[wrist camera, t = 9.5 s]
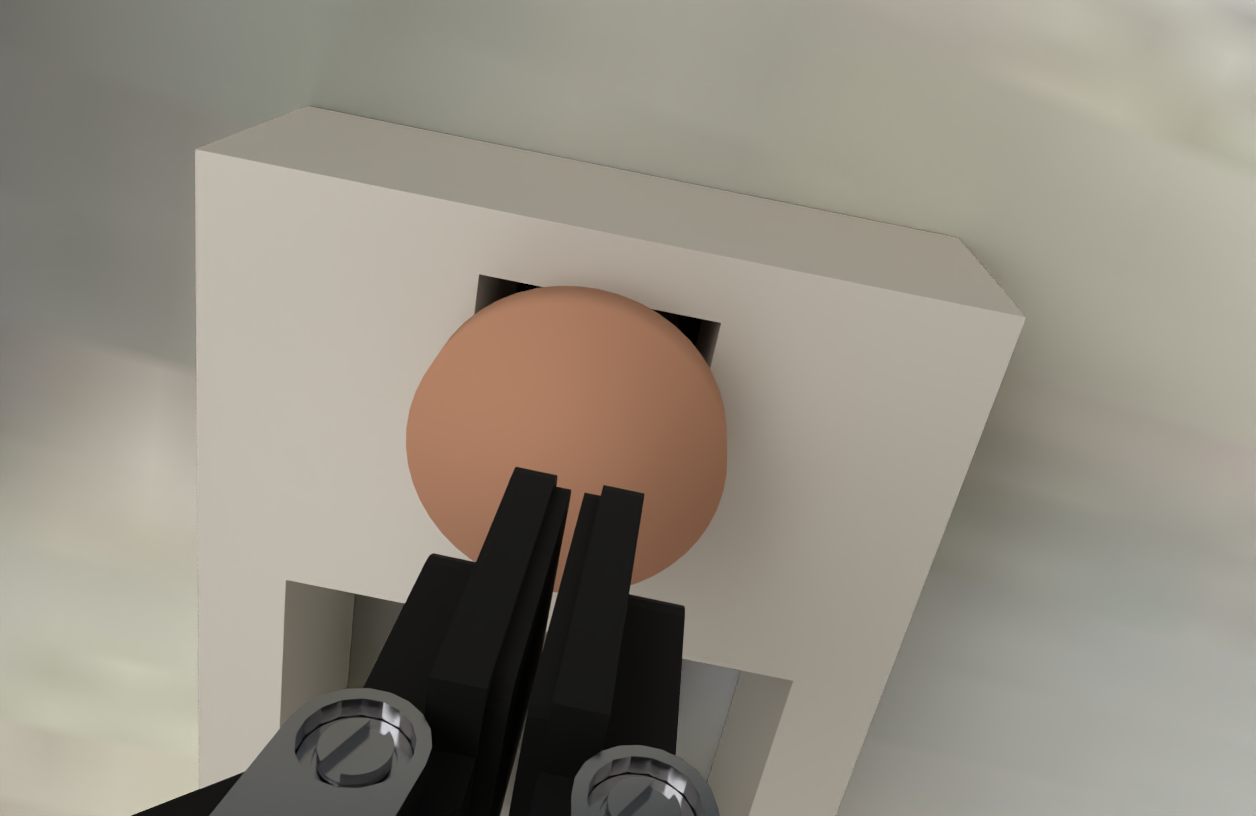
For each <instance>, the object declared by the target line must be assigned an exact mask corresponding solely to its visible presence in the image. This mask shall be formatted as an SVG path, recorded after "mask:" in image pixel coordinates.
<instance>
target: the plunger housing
mask: <svg viewBox="0 0 1256 816" xmlns="http://www.w3.org/2000/svg"><path fill="white" fill-rule="evenodd" d="M195 202H196V374H197V545H198V717H199V789H201V788H204V787H206V786H209V785H212V784H214V783H217V782H219V781H222V780H224V779H227V778H230V777H232V776H235V775H237V774H240V773H242V772H245V771H246V770H247V768H248V767H249V766H250V765H251V763H252V762H253V761H254V760H255V759H256V757H257V756H258V755H259V754H260V752H261V751H262V750H263V749H264V747H265V746H266V745H267V744H268V743H269V741H270V740H271V739H272V738H273V736H274V735H275V734H276V733H277V731H278V730H279V729H280V728H281V727H282V725H283V724H284V723H285V722H286V720H287V719H288V718H289V717H290V716H291V715H292V714H293V713H294V712H296V711H297V710H298V709H299V708H300V707H301V706H302V705H303V704H305V703H307V702H309V701H311V700H313V699H315V698H317V697H319V696H321V695H323V694H325V693H330V692H334V691H338V690H342V689H347V687H348V674H349V662H350V649H351V636H352V624H353V611H354V598H355V594H360V595H365V596H370V597H375V598H380V599H385V600H390V601H395V602H400V603H405V602H406V600H407V598H408V596H409V594H410V592H411V590H412V588H413V586H414V584H415V582H416V580H417V578H418V576H419V574H420V572H421V570H422V568H423V566H424V564H425V562H426V560H427V558H428V557H429V555H431V554H432V553H435V554H439V555H444V556H449V557H454V558H458V559H463V560H468V561H472V560H471V559H469V558H468V557H467V556H466V555H465V554H463V553H462V552H461V551H460V550H458V549H457V548H456V547H455V546H454V545H453V544H452V543H451V542H450V541H449V540H448V539H447V538H446V537H445V536H444V535H443V534H442V533H441V531H440V530H439V529H438V527H437V526H436V525H435V524H434V522H433V521H432V520H431V518H430V517H429V515H428V513H427V512H426V510H425V508H424V506H423V505H422V503H421V501H420V499H419V497H418V494H417V492H416V489H415V487H414V485H413V482H412V478H411V474H410V470H409V467H408V460H407V452H406V427H407V421H408V415H409V410H410V407H411V404H412V401H413V398H414V395H415V392H416V390H417V388H418V386H419V384H420V382H421V380H422V378H423V376H424V374H425V373H426V371H427V370H428V368H429V367H430V365H431V364H432V362H433V361H434V359H435V358H436V357H437V355H438V354H439V352H440V351H441V349H442V348H443V346H444V345H445V344H446V342H447V341H448V340H449V338H450V337H451V336H452V335H453V333H454V332H455V331H456V330H457V329H458V328H459V327H460V326H461V325H462V324H463V323H464V322H465V321H467V320H468V319H469V318H471V317H472V316H473V315H474V314H476V313H477V312H478V311H480V310H482V309H483V308H485V307H487V306H489V305H490V304H492V303H494V302H496V301H498V300H500V299H503V298H505V297H508V296H510V295H513V294H515V293H516V291H517V284H518V282H520V283H525V284H530V285H535V286H540V287H551V286H580V287H588V288H595V289H601V290H604V291H608V292H612V293H615V294H619V295H622V296H624V297H627V298H629V299H632V300H634V301H637V302H639V303H641V304H643V305H644V306H646V307H648V308H650V309H654V310H659V311H664V312H669V313H674V314H679V315H684V316H689V317H694V318H699V319H702V321H701V325H700V330H699V334H698V338H697V343H696V349H697V350H698V351H699V352H700V354H701V355H702V356H703V358H704V360H705V361H706V363H707V365H708V366H709V368H710V370H711V371H712V373H713V376H714V378H715V381H716V383H717V385H718V388H719V390H720V394H721V397H722V401H723V405H724V409H725V418H726V427H727V474H726V480H725V485H724V491H723V494H722V497H721V500H720V503H719V506H718V509H717V511H716V513H715V515H714V516H713V518H712V520H711V522H710V524H709V526H708V527H707V529H706V530H705V532H704V533H703V534H702V536H701V537H700V539H699V540H698V541H697V542H696V543H695V544H694V545H693V546H692V547H691V548H690V550H689V551H688V552H687V553H686V554H685V555H683V556H682V557H681V558H680V559H678V560H677V561H676V562H675V563H673V564H672V565H671V566H669V567H668V568H666V569H664V570H663V571H661V572H659V573H658V574H656V575H654V576H652V577H650V578H648V579H645V580H643V581H641V582H639V583H636V584H633V585H630V591H629V594H631V595H636V596H640V597H645V598H650V599H655V600H659V601H664V602H669V603H674V604H679V605H683V606H684V607H685V623H684V638H683V653H682V659H686V660H691V661H696V662H701V663H706V664H711V665H716V666H721V667H726V668H731V669H736V670H741V672H740V675H739V678H738V682H737V685H736V688H735V692H734V695H733V698H732V702H731V705H730V708H729V712H728V715H727V719H726V722H725V725H724V729H723V732H722V735H721V739H720V742H719V745H718V749H717V752H716V755H715V759H714V762H713V765H712V769H711V772H710V776H709V779H708V782H707V784H708V785H709V786H710V788H711V789H712V791H713V794H714V797H715V800H716V803H717V806H718V809H719V815H720V816H836V813H837V811H838V808H839V806H840V803H841V800H842V798H843V795H844V792H845V790H846V787H847V785H848V782H849V779H850V777H851V774H852V772H853V769H854V766H855V764H856V761H857V758H858V756H859V753H860V751H861V748H862V745H863V743H864V740H865V738H866V735H867V732H868V730H869V727H870V725H871V722H872V719H873V717H874V714H875V711H876V709H877V706H878V704H879V701H880V698H881V696H882V693H883V691H884V688H885V685H886V683H887V680H888V677H889V675H890V672H891V670H892V667H893V664H894V662H895V659H896V657H897V654H898V651H899V649H900V646H901V643H902V641H903V638H904V636H905V633H906V630H907V628H908V625H909V623H910V620H911V617H912V615H913V612H914V609H915V607H916V604H917V602H918V599H919V596H920V594H921V591H922V589H923V586H924V583H925V581H926V578H927V576H928V573H929V570H930V568H931V565H932V562H933V560H934V557H935V555H936V552H937V549H938V547H939V544H940V542H941V539H942V536H943V534H944V531H945V528H946V526H947V523H948V521H949V518H950V515H951V513H952V510H953V508H954V505H955V502H956V500H957V497H958V494H959V492H960V489H961V487H962V484H963V481H964V479H965V476H966V474H967V471H968V468H969V466H970V463H971V460H972V458H973V455H974V453H975V450H976V447H977V445H978V442H979V440H980V437H981V434H982V432H983V429H984V426H985V424H986V421H987V419H988V416H989V413H990V411H991V408H992V406H993V403H994V400H995V398H996V395H997V393H998V390H999V387H1000V385H1001V382H1002V379H1003V377H1004V374H1005V372H1006V369H1007V366H1008V364H1009V361H1010V359H1011V356H1012V353H1013V351H1014V348H1015V345H1016V343H1017V340H1018V338H1019V335H1020V332H1021V330H1022V327H1023V325H1024V322H1025V319H1026V317H1025V315H1024V314H1023V313H1022V312H1021V311H1020V310H1019V308H1018V307H1017V306H1016V305H1015V304H1014V303H1013V301H1012V300H1011V299H1010V298H1009V297H1008V296H1007V294H1006V293H1005V292H1004V291H1003V290H1002V289H1001V287H1000V286H999V285H998V284H997V283H996V282H995V280H994V279H993V278H992V277H991V276H990V275H989V273H988V272H987V271H986V270H985V269H984V268H983V266H982V265H981V264H980V263H979V262H978V261H977V259H976V258H975V257H974V256H973V255H972V254H971V252H970V251H969V250H968V249H967V248H966V247H965V245H964V244H963V243H962V242H961V241H960V240H959V238H956V237H951V236H946V235H941V234H936V233H931V232H927V231H922V230H917V229H912V228H907V227H902V226H897V225H892V224H887V223H882V222H877V221H872V220H867V219H862V218H858V217H853V216H848V215H843V214H838V213H833V212H828V211H823V210H818V209H813V208H808V207H803V206H798V205H794V204H789V203H784V202H779V201H774V200H769V199H764V198H759V197H754V196H749V195H744V194H739V193H734V192H729V191H725V190H720V189H715V188H710V187H705V186H700V185H695V184H690V183H685V182H680V181H675V180H670V179H665V178H660V177H656V176H651V175H646V174H641V173H636V172H631V171H626V170H621V169H616V168H611V167H606V166H601V165H596V164H591V163H587V162H582V161H577V160H572V159H567V158H562V157H557V156H552V155H547V154H542V153H537V152H532V151H527V150H523V149H518V148H513V147H508V146H503V145H498V144H493V143H488V142H483V141H478V140H473V139H468V138H463V137H458V136H454V135H449V134H444V133H439V132H434V131H429V130H424V129H419V128H414V127H409V126H404V125H399V124H394V123H389V122H385V121H380V120H375V119H370V118H365V117H360V116H355V115H350V114H345V113H340V112H335V111H330V110H325V109H321V108H316V107H311V106H306V107H304V108H301V109H299V110H296V111H293V112H291V113H288V114H286V115H283V116H280V117H278V118H275V119H273V120H270V121H267V122H265V123H262V124H260V125H257V126H254V127H252V128H249V129H247V130H244V131H241V132H239V133H236V134H234V135H231V136H228V137H226V138H223V139H221V140H218V141H215V142H213V143H210V144H208V145H205V146H202V147H200V148H197V149H195ZM473 562H474V561H473ZM557 594H558V593H557V592H553V595H552V600H551V606H550V611H549V617H548V622H547V628H546V632H548V628H549V624H550V621H551V617H552V613H553V609H554V605H555V602H556V598H557Z"/></svg>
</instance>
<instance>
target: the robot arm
mask: <svg viewBox="0 0 1256 816" xmlns="http://www.w3.org/2000/svg"><path fill="white" fill-rule="evenodd" d="M556 486H557V475H554V474H549V473H544V472H540V471H535V470H530V469H525V468H520V467H515V469H514V471H513V473H512V476H511V478H510V480H509V483H508V485H507V488H506V490H505V493H504V495H503V498H502V500H501V502H500V505H499V507H498V510H497V512H496V515H495V517H494V519H493V522H492V524H491V527H490V529H489V532H488V534H487V537H486V539H485V541H484V544H483V546H482V549H481V551H480V554H479V556H478V558H477V561H476V562H473V561H468V560H463V559H458V558H454V557H449V556H444V555H439V554H435V553H432V554H431V555H429V557H428V558H427V560H426V562H425V564H424V566H423V568H422V570H421V572H420V574H419V576H418V578H417V580H416V582H415V584H414V586H413V588H412V590H411V592H410V594H409V596H408V598H407V600H406V602H405V604H404V606H403V608H402V610H401V612H400V615H399V617H398V619H397V621H396V623H395V625H394V627H393V629H392V631H391V633H390V635H389V637H388V639H387V641H386V643H385V645H384V647H383V649H382V651H381V653H380V655H379V657H378V659H377V661H376V663H375V665H374V667H373V669H372V671H371V673H370V675H369V678H368V680H367V682H366V684H365V686H364V688H348V689H342V690H338V691H334V692H330V693H325V694H323V695H321V696H319V697H317V698H315V699H313V700H311V701H309V702H307V703H305V704H303V705H302V706H301V707H300V708H299V709H298V710H297V711H296V712H294V713H293V714H292V715H291V716H290V717H289V718H288V719H287V720H286V722H285V723H284V724H283V725H282V727H281V728H280V729H279V730H278V731H277V733H276V734H275V735H274V736H273V738H272V739H271V740H270V741H269V743H268V744H267V745H266V746H265V747H264V749H263V750H262V751H261V752H260V754H259V755H258V756H257V757H256V759H255V760H254V761H253V762H252V763H251V765H250V766H249V767H248V768H247V770H246V771H245V772H242V773H240V774H237V775H235V776H232V777H230V778H227V779H224V780H222V781H219V782H217V783H214V784H212V785H209V786H206V787H204V788H201V789H199V790H196V791H194V792H191V793H188V794H186V795H183V796H181V797H178V798H176V799H173V800H170V801H168V802H165V803H163V804H160V805H158V806H155V807H152V808H150V809H147V810H145V811H142V812H140V813H137V814H134V815H132V816H500V814H501V810H502V807H503V803H504V799H505V795H506V791H507V788H508V784H509V780H510V776H511V772H512V769H513V765H514V761H515V757H516V754H517V750H518V746H519V742H520V738H521V735H522V731H523V727H524V723H525V727H524V733H523V738H522V744H521V749H520V755H519V760H518V766H517V771H516V777H515V782H514V788H513V793H512V799H511V804H510V810H509V815H508V816H720V815H719V809H718V806H717V803H716V800H715V797H714V794H713V791H712V789H711V788H710V786H709V785H708V784H707V782H706V781H705V780H704V778H703V777H702V776H701V774H700V773H699V772H698V771H697V770H695V769H694V768H693V767H692V766H690V765H689V764H688V763H687V762H685V761H684V760H683V759H681V758H679V757H677V756H675V755H676V741H677V726H678V711H679V697H680V682H681V667H682V653H683V638H684V623H685V607H684V606H683V605H679V604H674V603H669V602H664V601H659V600H655V599H650V598H645V597H640V596H636V595H631V594H629V591H630V585H631V579H632V572H633V566H634V559H635V553H636V547H637V540H638V534H639V527H640V521H641V514H642V508H643V502H644V495H645V494H644V493H640V492H636V491H631V490H626V489H621V488H616V487H612V486H607V485H603V488H602V493H601V496H600V495H595V494H590V493H584V496H583V500H582V504H581V508H580V511H579V515H578V519H577V523H576V526H575V530H574V534H573V538H572V541H571V545H570V549H569V553H568V557H567V560H566V564H565V568H564V572H563V575H562V579H561V583H560V587H559V590H558V594H557V598H556V602H555V605H554V609H553V613H552V617H551V621H550V624H549V628H548V632H547V636H546V639H545V643H544V638H545V633H546V628H547V622H548V617H549V611H550V606H551V600H552V595H553V590H554V584H555V579H556V573H557V568H558V562H559V557H560V552H561V546H562V541H563V535H564V530H565V524H566V519H567V514H568V508H569V503H570V497H571V489H566V488H561V487H556ZM543 644H544V647H543ZM542 649H543V651H542ZM526 716H527V717H526ZM525 719H526V722H525Z"/></svg>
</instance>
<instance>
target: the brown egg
mask: <svg viewBox="0 0 1256 816" xmlns="http://www.w3.org/2000/svg"><path fill="white" fill-rule="evenodd" d="M406 452H407V460H408V467H409V470H410V474H411V478H412V482H413V485H414V487H415V489H416V492H417V494H418V497H419V499H420V501H421V503H422V505H423V506H424V508H425V510H426V512H427V513H428V515H429V517H430V518H431V520H432V521H433V522H434V524H435V525H436V526H437V527H438V529H439V530H440V531H441V533H442V534H443V535H444V536H445V537H446V538H447V539H448V540H449V541H450V542H451V543H452V544H453V545H454V546H455V547H456V548H457V549H458V550H460V551H461V552H462V553H463V554H465V555H466V556H467V557H468V558H469V559H471V560H472V561H474V562H476V561H477V558H478V556H479V554H480V551H481V549H482V546H483V544H484V541H485V539H486V537H487V534H488V532H489V529H490V527H491V524H492V522H493V519H494V517H495V515H496V512H497V510H498V507H499V505H500V502H501V500H502V498H503V495H504V493H505V490H506V488H507V485H508V483H509V480H510V478H511V476H512V473H513V471H514V469H515V467H520V468H525V469H530V470H535V471H540V472H544V473H549V474H554V475H557V486H556V487H561V488H566V489H571V497H570V503H569V508H568V514H567V519H566V524H565V530H564V535H563V541H562V546H561V552H560V557H559V562H558V568H557V573H556V579H555V584H554V590H553V592H557V593H558V590H559V587H560V583H561V579H562V575H563V572H564V568H565V564H566V560H567V557H568V553H569V549H570V545H571V541H572V538H573V534H574V530H575V526H576V523H577V519H578V515H579V511H580V508H581V504H582V500H583V496H584V493H590V494H595V495H600V496H601V493H602V488H603V485H607V486H612V487H616V488H621V489H626V490H631V491H636V492H640V493H644V494H645V495H644V502H643V508H642V514H641V521H640V527H639V534H638V540H637V547H636V553H635V559H634V566H633V572H632V579H631V585H633V584H636V583H639V582H641V581H643V580H645V579H648V578H650V577H652V576H654V575H656V574H658V573H659V572H661V571H663V570H664V569H666V568H668V567H669V566H671V565H672V564H673V563H675V562H676V561H677V560H678V559H680V558H681V557H682V556H683V555H685V554H686V553H687V552H688V551H689V550H690V548H691V547H692V546H693V545H694V544H695V543H696V542H697V541H698V540H699V539H700V537H701V536H702V534H703V533H704V532H705V530H706V529H707V527H708V526H709V524H710V522H711V520H712V518H713V516H714V515H715V513H716V511H717V509H718V506H719V503H720V500H721V497H722V494H723V491H724V485H725V480H726V474H727V427H726V418H725V409H724V405H723V401H722V397H721V394H720V390H719V388H718V385H717V383H716V381H715V378H714V376H713V373H712V371H711V370H710V368H709V366H708V365H707V363H706V361H705V360H704V358H703V356H702V355H701V354H700V352H699V351H698V350H697V349H696V347H695V346H694V345H693V344H692V342H691V341H690V340H689V339H688V338H687V337H686V336H685V335H684V334H683V333H682V332H681V331H680V327H679V322H678V318H677V315H676V314H674V313H669V312H664V311H659V310H654V309H650V308H648V307H646V306H644V305H643V304H641V303H639V302H637V301H634V300H632V299H629V298H627V297H624V296H622V295H619V294H615V293H612V292H608V291H604V290H601V289H595V288H588V287H580V286H551V287H540V286H538V287H537V288H535V289H531V290H527V291H523V292H519V293H515V294H513V295H510V296H508V297H505V298H503V299H500V300H498V301H496V302H494V303H492V304H490V305H489V306H487V307H485V308H483V309H482V310H480V311H478V312H477V313H476V314H474V315H473V316H472V317H471V318H469V319H468V320H467V321H465V322H464V323H463V324H462V325H461V326H460V327H459V328H458V329H457V330H456V331H455V332H454V333H453V335H452V336H451V337H450V338H449V340H448V341H447V342H446V344H445V345H444V346H443V348H442V349H441V351H440V352H439V354H438V355H437V357H436V358H435V359H434V361H433V362H432V364H431V365H430V367H429V368H428V370H427V371H426V373H425V374H424V376H423V378H422V380H421V382H420V384H419V386H418V388H417V390H416V392H415V395H414V398H413V401H412V404H411V407H410V410H409V415H408V421H407V427H406Z"/></svg>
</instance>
